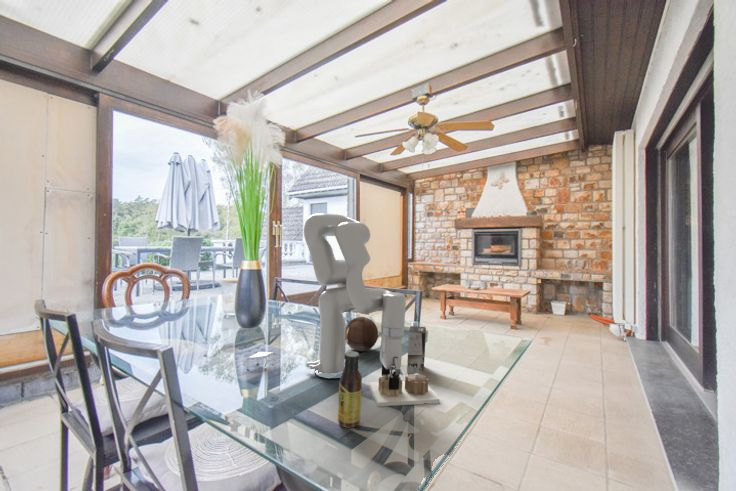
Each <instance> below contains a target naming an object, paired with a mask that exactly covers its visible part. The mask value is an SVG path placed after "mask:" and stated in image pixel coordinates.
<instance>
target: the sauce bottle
mask: <svg viewBox="0 0 736 491" xmlns="http://www.w3.org/2000/svg"><path fill="white" fill-rule="evenodd" d="M344 358H345V364H344V366H345V367H344V370H343V373H342V376H341V378H340V379H339V383H338V402H337V403H338V407H337V420H338V424H339V425H340V426H341V427H342V428H348V429H350V428H355V427H358V425H359V424H360V421H361V407H362V390H363V387H362V382H363V379H362V374H361V372H360V371H359V360H360V352H359V351H356V350H353V351H352V350H349V351H345V357H344Z"/></svg>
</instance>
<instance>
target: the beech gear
mask: <svg viewBox="0 0 736 491" xmlns="http://www.w3.org/2000/svg"><path fill="white" fill-rule="evenodd" d="M402 381H403V379H401V376H400V378H399V389H398V390H389V380H388V375H383V376H382V375H381V376H379V377H378V382H379V388H378V390H380V394H384V395H386V396H388V397H390V396H399V393H402Z"/></svg>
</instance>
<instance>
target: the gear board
mask: <svg viewBox="0 0 736 491" xmlns="http://www.w3.org/2000/svg"><path fill="white" fill-rule="evenodd" d="M389 377H390V374H389V375H388V380H389ZM368 386H369V390H370V391H371V394H372V396H373V398H374V401H375V403H376V405H377V407H391V406H392V407H393V406H405V405H406V406H408V405H410V406H411V405H425V404H424V403H429V404H439V403H440V397H438V395H437V394H436V393H435V392H434V391H433V389H432V388H431V387H430V385H429V378H427V376H426V375H424V374H423V375H420V374H418V373H415V374H412V373H407V375H405V377H404V380H402V393H399V396H390V397H388V396H386V395H384V394H380V390H378V388H379V381H372V382H370V381H369V382H368Z"/></svg>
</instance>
